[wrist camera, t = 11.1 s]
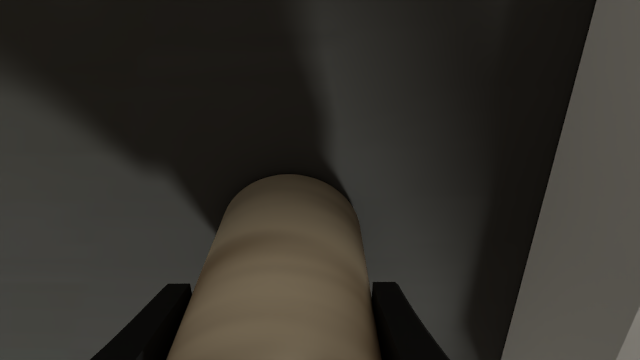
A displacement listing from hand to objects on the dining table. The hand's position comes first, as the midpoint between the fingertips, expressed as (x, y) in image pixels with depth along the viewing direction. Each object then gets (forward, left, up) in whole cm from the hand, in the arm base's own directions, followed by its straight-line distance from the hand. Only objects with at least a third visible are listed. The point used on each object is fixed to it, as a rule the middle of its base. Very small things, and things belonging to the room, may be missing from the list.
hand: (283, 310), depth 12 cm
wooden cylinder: (0, 0, -4) cm, 4 cm away
